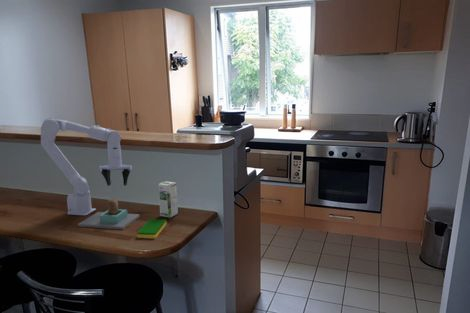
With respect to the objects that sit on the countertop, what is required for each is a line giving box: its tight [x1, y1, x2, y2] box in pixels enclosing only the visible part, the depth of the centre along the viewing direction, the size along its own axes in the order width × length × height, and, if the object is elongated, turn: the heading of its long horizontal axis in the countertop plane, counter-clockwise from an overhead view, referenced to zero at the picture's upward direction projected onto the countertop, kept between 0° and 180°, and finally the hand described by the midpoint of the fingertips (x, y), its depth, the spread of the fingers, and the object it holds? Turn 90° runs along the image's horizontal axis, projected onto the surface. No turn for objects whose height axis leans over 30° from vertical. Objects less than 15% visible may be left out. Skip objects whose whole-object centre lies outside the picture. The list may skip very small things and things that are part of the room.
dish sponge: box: [136, 218, 168, 239], centre depth 134 cm, size 7×14×2 cm, turn 174°
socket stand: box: [77, 208, 141, 230], centre depth 144 cm, size 20×14×4 cm
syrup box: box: [158, 180, 179, 219], centre depth 149 cm, size 6×6×14 cm
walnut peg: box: [107, 198, 119, 215], centre depth 143 cm, size 4×4×8 cm
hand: (117, 185), depth 161 cm, fingers open, 7 cm apart
